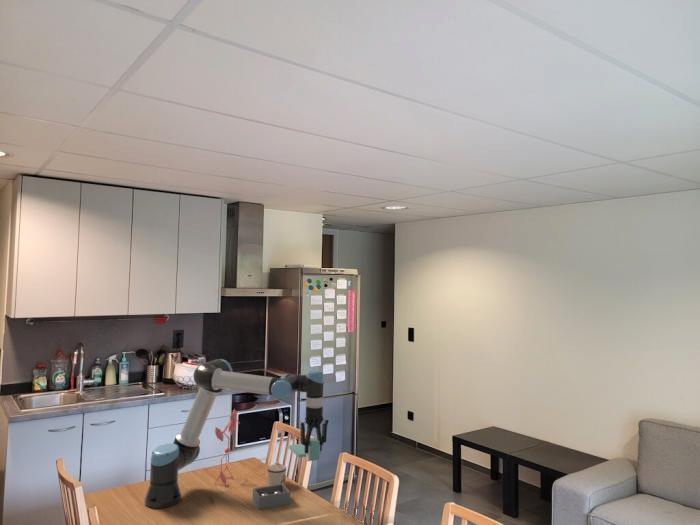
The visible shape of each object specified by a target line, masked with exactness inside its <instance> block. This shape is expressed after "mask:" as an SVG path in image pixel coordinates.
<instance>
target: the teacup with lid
mask: <svg viewBox="0 0 700 525" xmlns="http://www.w3.org/2000/svg"><path fill="white" fill-rule="evenodd" d="M286 473H287V466H286V465H285V464H281V463H280V462H279V461H275V462H274V463H273V464H270V465H269V466H267V486H272V485H278V484H283V485H284V486H285V487H286V480H287V479H286V478H287V477H286V475H287V474H286Z"/></svg>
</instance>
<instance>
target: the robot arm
mask: <svg viewBox="0 0 700 525" xmlns="http://www.w3.org/2000/svg"><path fill="white" fill-rule="evenodd" d="M193 382H194V384H195V385H196V386H197V387H198V388H199V389H198V392H197V394H196V396H195V399H194V401H193V403H192V406H191V409H190V410H189V413H188V416H187V418H186V421H185V423H184V425H183V427H182V430H181V432H179V433H177V434H176V436H175V438H174V440H173V443H164V444H161V445H158V446H157V447H155V448H154V449H153V450H152V451H151V456H150V473H149V474H150V475H149V486H148V489H147V490H146V494H145V496H144V505H145V506H146V507H148V508H153V509H164V508H169V507H172V506H175V505H177V504H179V503H180V501H181V499H182V492H181V489H180V486H179V482H178V479H179V478H178V477H179V471H180V470H182V469H183V468H185V467H188V466H189V465H191V464H193V463H194V461H195V460H197V458H198V457H199V454H200V452H201V447H200V444H201V440H200V437H201V434H202V431H203V429H204V427H205V423H206V422H207V420H208V416H209V414H210V412H211V410H212V408H213V405H214V403H215V401H216V398H217V395H219V394H220V393H222V392H223V390H229V391H238V392H244V393H253V394H259V395H266V396H273V397H274V398H276V399H278V400H281V399H286V398H288V397H289V396H291V395H292V394H294V393H299V392H300V393H306V394H305V395H306V396H305V400H306V401H305V405H306V406H305V418H304V419H303V421H299V423H298V424H299V427H300V430H299V431H300V444H302V445H305V453H306V457H305V459H306V461H307V462H311V461H310V446H309V442H310V438H312V437H311V436H312V433H313V432H312V431H313V430H314V428H315V432H316V439H317V440H319V441H320V451H319V460H318V461H320V460H321V455H320V452H322V451H323V446H324V444H325V443H326V442H327V433H328V425H329V420H328V419H326V418H324V416H323V412H324V411H323V410H324V409H323V408H324V407H323V406H324V402H323V401H324V383H325V381H324V373H323V371H321V370H308V371H307V372H306V374H296V373H295V374H293V373H284V374H282V375H281V377H272V376H265V375H257V374H250V373H241V372H234V371H233V368H232V365H231V363H230V362H229V361H227V360H225V359H223V358H221V359H220V358H218V359H214V360H211V361H206V362H202V363H200V364H199V365H198V366H197V367H196V368H195V370H194V372H193ZM306 424H307V427H306ZM321 424H322V426H321ZM321 428H322V429H321Z"/></svg>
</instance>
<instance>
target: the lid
mask: <svg viewBox="0 0 700 525" xmlns="http://www.w3.org/2000/svg"><path fill="white" fill-rule="evenodd" d="M309 446H310V461H309V462H313V461H314V462H315V461H320V460H319V451H320V441H319V440H318V439H317V437H310V442H309ZM287 449H288V450H290V451H291V453H293V454H294V455H295V456H296V457H298V458H299V459H300V458H306V453H305V445H302V444H301V443H298V444H297V443H296V444H289V445H287ZM321 454H322V451H320V456H322V455H321Z"/></svg>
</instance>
